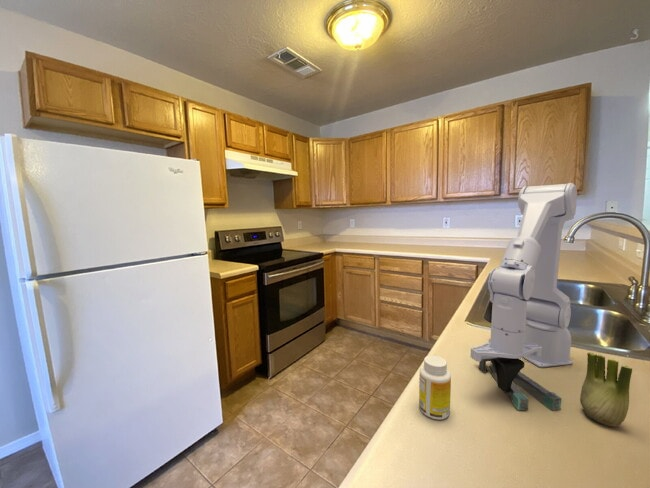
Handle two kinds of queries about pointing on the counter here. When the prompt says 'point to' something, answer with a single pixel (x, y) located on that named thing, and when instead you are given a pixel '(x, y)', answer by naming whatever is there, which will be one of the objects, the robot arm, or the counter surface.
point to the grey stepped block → (483, 364)
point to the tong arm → (514, 394)
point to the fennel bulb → (605, 390)
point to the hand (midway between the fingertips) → (503, 389)
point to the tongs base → (537, 391)
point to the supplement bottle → (435, 388)
